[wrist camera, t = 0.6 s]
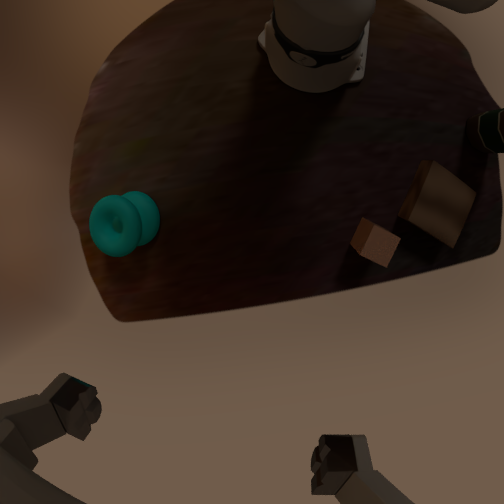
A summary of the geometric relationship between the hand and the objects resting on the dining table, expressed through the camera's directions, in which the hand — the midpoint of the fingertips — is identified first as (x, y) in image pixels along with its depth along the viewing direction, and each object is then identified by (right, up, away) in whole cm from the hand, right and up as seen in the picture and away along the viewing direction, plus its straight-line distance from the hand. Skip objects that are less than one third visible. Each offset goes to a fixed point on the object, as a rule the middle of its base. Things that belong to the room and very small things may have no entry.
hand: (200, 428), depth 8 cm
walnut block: (+34, +15, +36) cm, 51 cm away
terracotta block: (+22, +9, +38) cm, 45 cm away
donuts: (-19, +12, +42) cm, 48 cm away
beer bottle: (+45, +29, +30) cm, 62 cm away
